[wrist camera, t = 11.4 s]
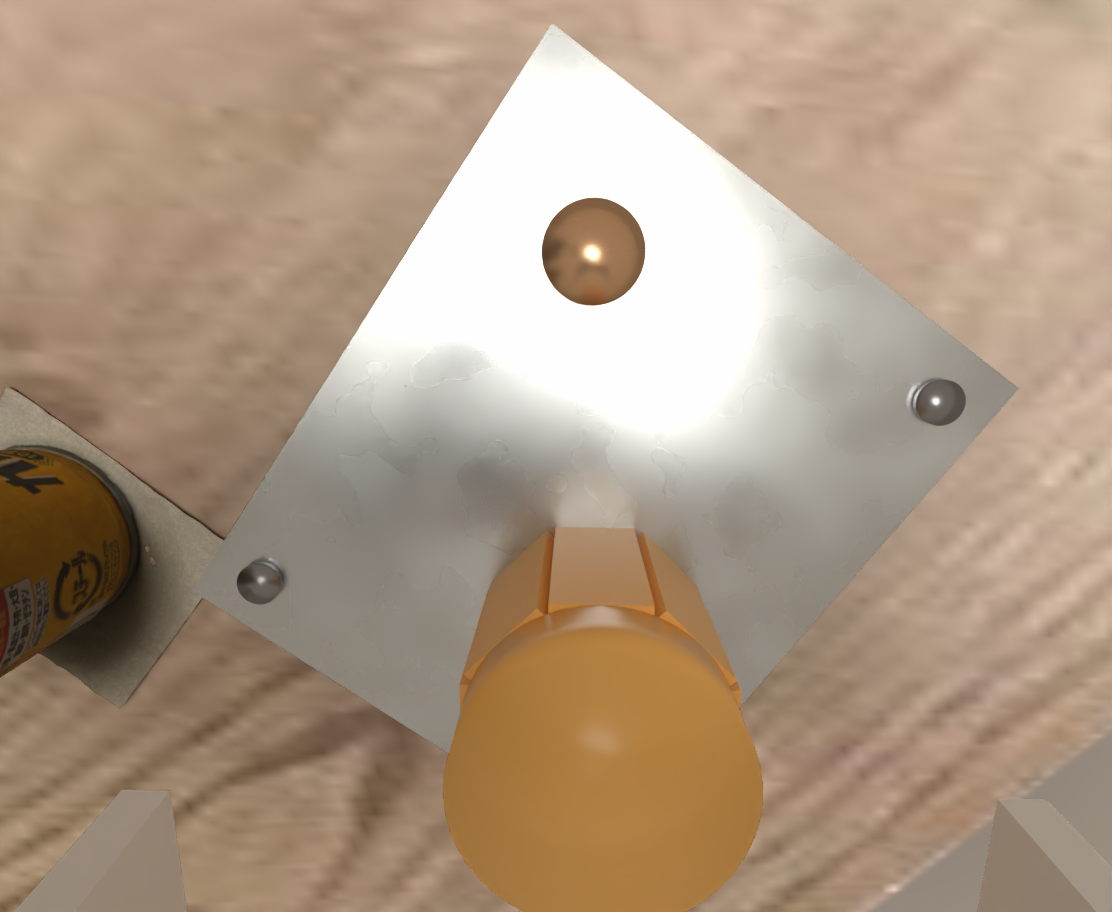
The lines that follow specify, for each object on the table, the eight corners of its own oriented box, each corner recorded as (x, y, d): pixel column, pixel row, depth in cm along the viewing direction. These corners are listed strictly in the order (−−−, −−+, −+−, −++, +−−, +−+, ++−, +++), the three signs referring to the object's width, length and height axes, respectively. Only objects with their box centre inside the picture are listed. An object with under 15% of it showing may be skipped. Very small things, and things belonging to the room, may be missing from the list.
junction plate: (234, 559, 22) (82, 673, 15) (554, 59, 19) (543, -81, 12) (606, 799, 24) (618, 998, 17) (965, 378, 20) (1164, 415, 13)
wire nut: (487, 525, 19) (438, 649, 12) (702, 529, 19) (775, 656, 12) (490, 717, 20) (447, 925, 14) (691, 722, 20) (751, 935, 13)
